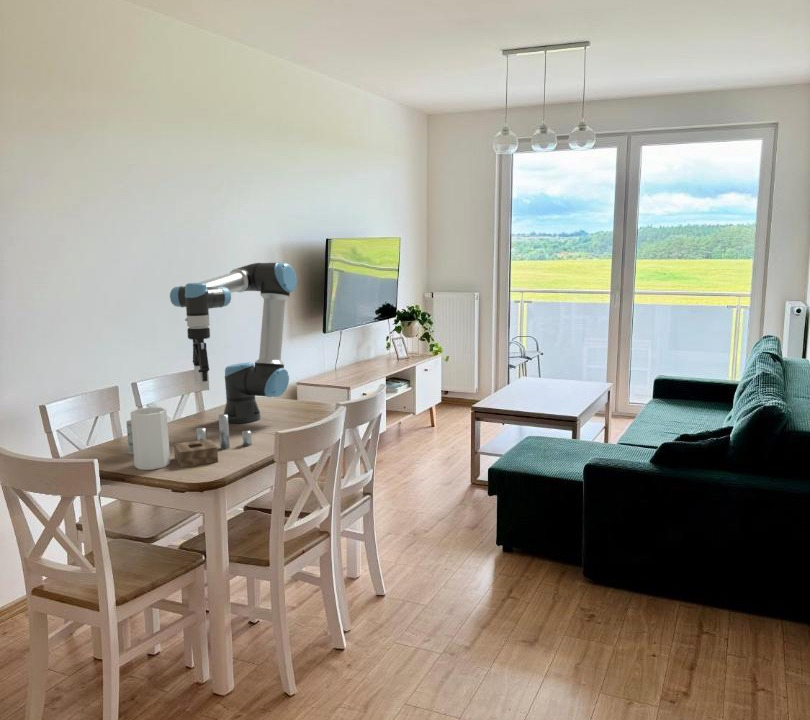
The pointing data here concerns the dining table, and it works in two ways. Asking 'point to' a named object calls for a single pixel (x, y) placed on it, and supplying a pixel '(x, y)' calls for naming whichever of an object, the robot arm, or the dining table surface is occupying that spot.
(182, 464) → the hole block
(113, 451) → the dining table surface
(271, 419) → the dining table surface
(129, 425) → the ink box
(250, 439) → the short pin
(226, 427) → the long pin
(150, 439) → the cup
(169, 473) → the dining table surface
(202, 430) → the medium pin
